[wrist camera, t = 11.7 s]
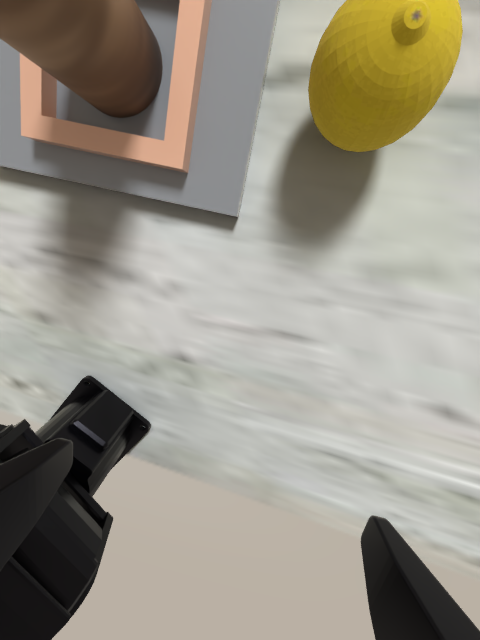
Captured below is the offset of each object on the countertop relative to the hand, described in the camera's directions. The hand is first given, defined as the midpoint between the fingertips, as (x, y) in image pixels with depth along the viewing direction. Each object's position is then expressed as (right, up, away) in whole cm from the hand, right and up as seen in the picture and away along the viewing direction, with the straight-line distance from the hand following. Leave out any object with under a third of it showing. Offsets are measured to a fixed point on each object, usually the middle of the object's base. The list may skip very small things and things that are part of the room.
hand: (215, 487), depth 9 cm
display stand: (-6, +19, +9) cm, 22 cm away
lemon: (+7, +17, +8) cm, 20 cm away
